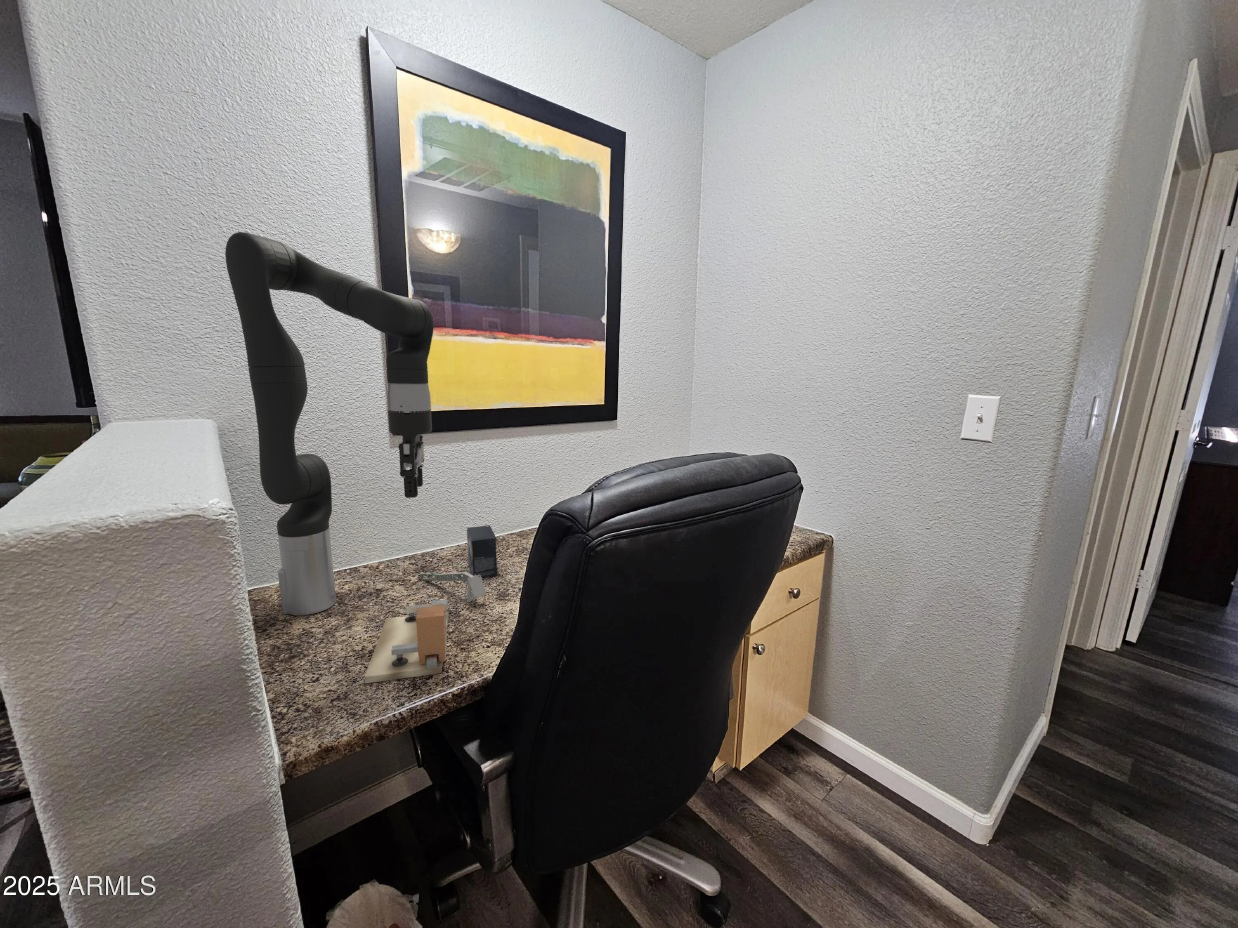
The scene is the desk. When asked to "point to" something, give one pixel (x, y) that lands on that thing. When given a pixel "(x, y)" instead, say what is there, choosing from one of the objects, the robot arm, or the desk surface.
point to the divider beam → (433, 658)
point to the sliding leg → (427, 635)
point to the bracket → (472, 581)
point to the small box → (482, 551)
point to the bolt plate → (386, 663)
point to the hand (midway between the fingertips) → (414, 491)
